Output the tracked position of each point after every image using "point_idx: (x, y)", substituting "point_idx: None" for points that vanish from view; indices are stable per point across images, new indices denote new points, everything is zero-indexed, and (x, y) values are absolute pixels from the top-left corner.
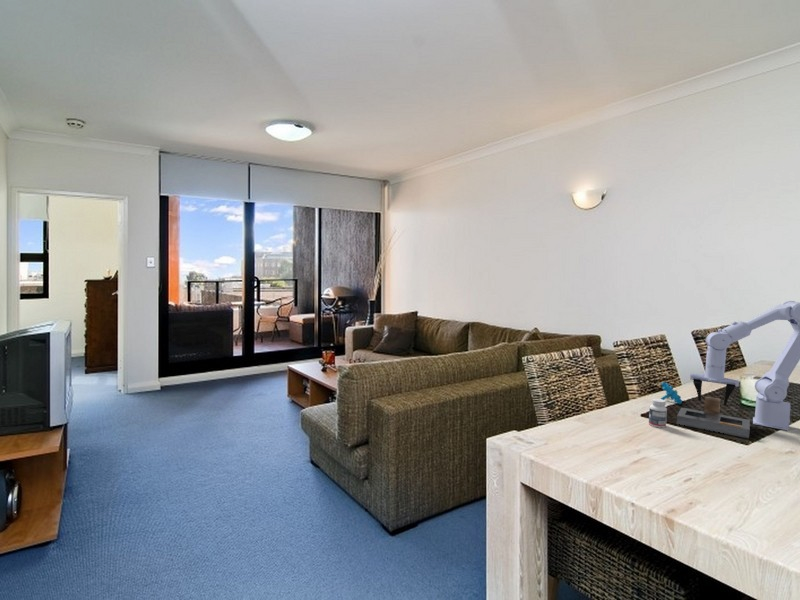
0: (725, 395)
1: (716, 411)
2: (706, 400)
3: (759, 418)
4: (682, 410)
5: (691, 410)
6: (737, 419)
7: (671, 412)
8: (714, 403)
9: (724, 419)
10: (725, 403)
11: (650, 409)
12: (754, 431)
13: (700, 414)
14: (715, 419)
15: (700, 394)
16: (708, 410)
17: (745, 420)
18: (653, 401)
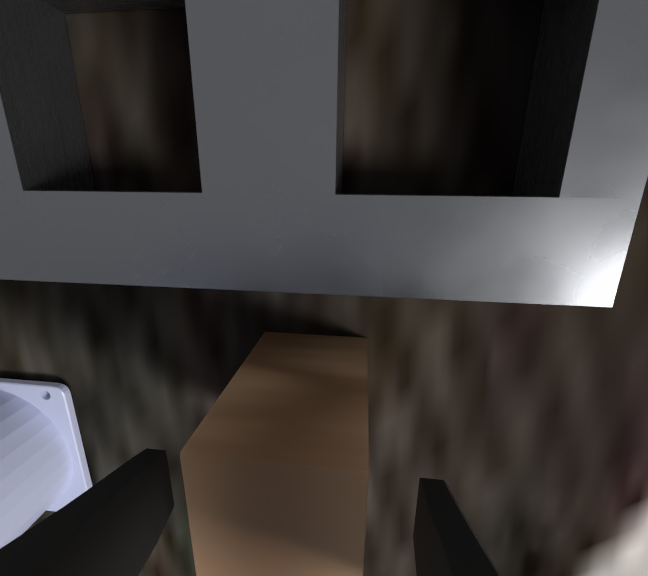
0: (28, 569)
1: (258, 370)
2: (347, 454)
3: (3, 431)
4: (619, 159)
5: (499, 248)
6: (64, 209)
7: (635, 327)
8: (255, 429)
9: (179, 192)
10: (137, 461)
11: None
12: None
13: (398, 196)
14: (230, 1)
15: (449, 563)
16: (328, 373)
17: (10, 229)
18: None
